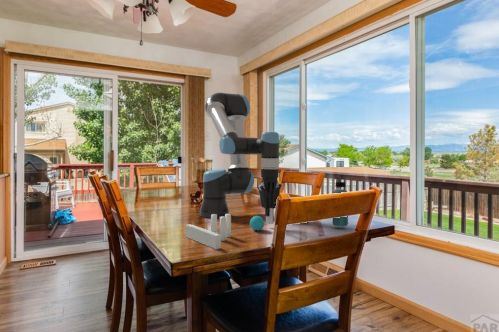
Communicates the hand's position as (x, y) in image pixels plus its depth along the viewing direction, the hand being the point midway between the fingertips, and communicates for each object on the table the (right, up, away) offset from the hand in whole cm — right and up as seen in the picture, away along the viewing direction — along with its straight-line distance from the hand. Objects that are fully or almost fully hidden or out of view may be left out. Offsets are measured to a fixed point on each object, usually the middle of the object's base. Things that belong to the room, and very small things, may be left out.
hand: (269, 223), depth 130 cm
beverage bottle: (+30, -2, 0) cm, 30 cm away
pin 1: (-22, -2, -15) cm, 27 cm away
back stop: (-25, -3, -22) cm, 34 cm away
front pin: (-17, -2, -14) cm, 22 cm away
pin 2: (-18, -2, -19) cm, 27 cm away
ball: (-5, +1, -5) cm, 7 cm away
